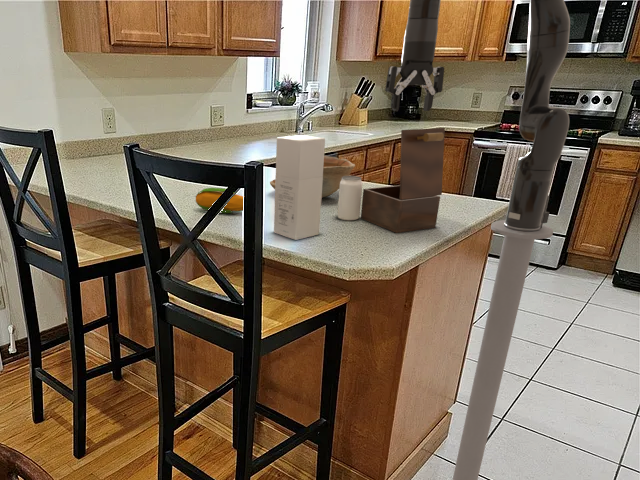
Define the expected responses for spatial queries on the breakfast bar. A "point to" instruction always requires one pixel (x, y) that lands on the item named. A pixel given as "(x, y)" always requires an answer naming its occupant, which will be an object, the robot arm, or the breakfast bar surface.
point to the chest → (398, 210)
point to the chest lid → (421, 162)
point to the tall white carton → (298, 186)
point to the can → (349, 198)
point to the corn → (212, 194)
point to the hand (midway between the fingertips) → (410, 110)
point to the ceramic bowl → (332, 174)
